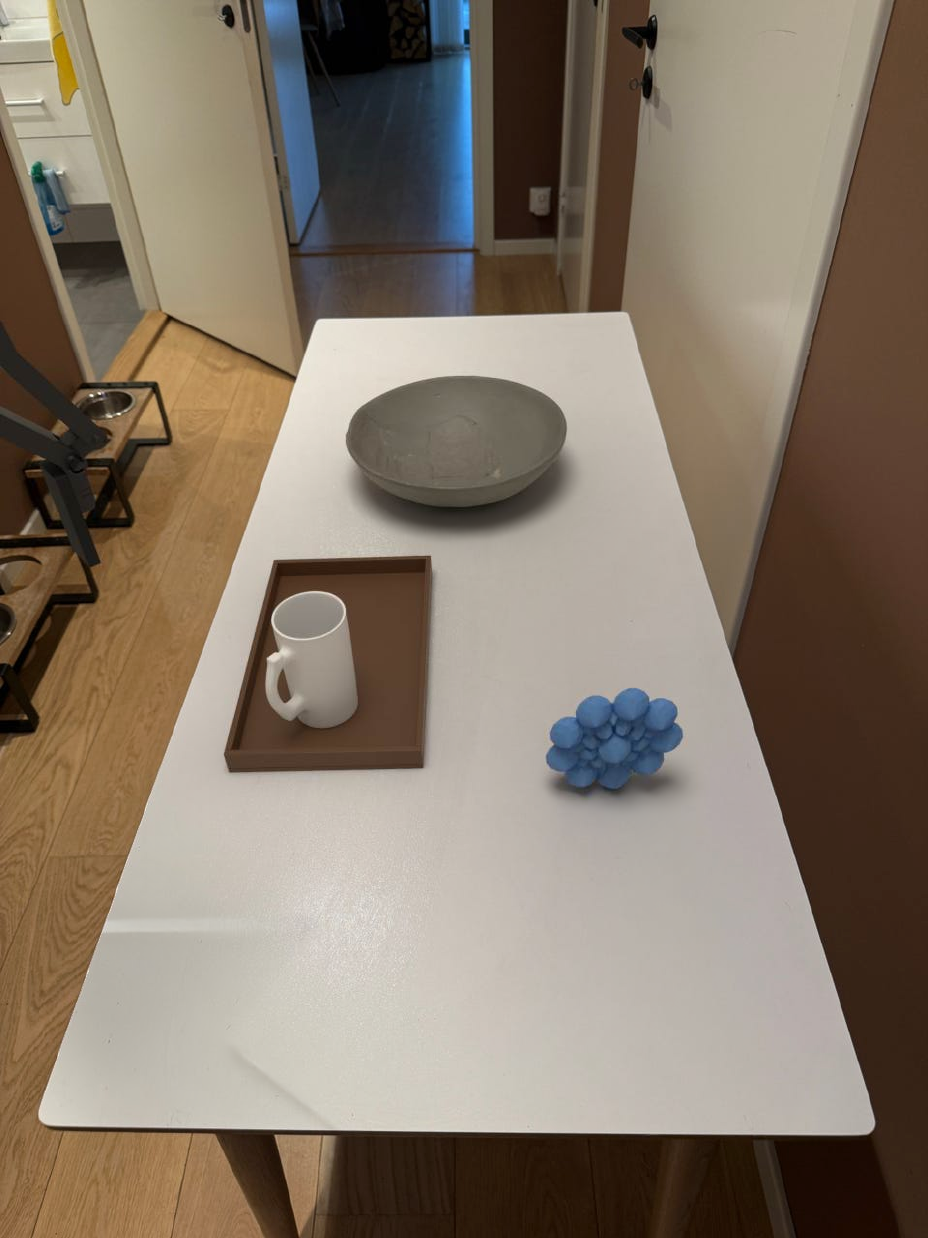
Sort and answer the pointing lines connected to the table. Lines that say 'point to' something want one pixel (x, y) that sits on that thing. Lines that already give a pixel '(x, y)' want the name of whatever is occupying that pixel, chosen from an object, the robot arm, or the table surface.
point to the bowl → (457, 439)
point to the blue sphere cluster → (614, 739)
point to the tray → (383, 664)
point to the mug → (313, 660)
